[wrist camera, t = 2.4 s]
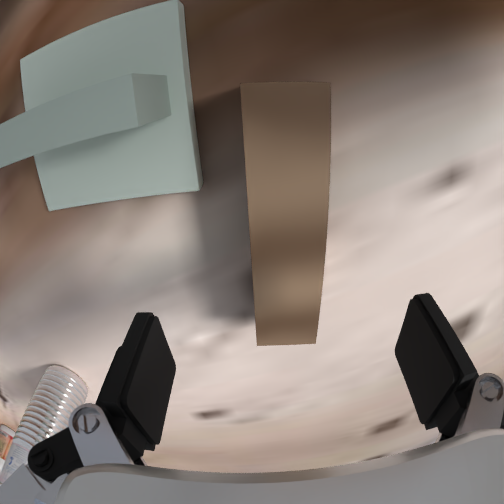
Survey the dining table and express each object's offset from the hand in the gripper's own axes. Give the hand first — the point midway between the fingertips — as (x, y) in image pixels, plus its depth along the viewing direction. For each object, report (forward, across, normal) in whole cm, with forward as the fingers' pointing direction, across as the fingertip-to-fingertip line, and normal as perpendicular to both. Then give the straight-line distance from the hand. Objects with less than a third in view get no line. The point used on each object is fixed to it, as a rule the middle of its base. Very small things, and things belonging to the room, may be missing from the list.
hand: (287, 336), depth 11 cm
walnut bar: (+11, -1, -1) cm, 11 cm away
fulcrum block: (+11, +10, -9) cm, 17 cm away
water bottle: (+12, +28, +21) cm, 38 cm away
